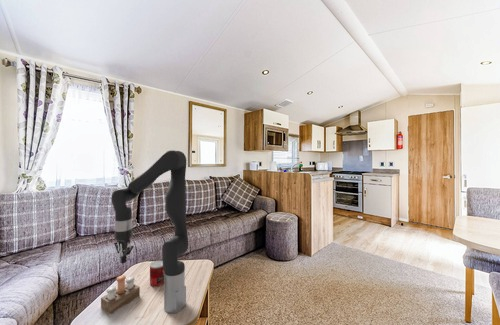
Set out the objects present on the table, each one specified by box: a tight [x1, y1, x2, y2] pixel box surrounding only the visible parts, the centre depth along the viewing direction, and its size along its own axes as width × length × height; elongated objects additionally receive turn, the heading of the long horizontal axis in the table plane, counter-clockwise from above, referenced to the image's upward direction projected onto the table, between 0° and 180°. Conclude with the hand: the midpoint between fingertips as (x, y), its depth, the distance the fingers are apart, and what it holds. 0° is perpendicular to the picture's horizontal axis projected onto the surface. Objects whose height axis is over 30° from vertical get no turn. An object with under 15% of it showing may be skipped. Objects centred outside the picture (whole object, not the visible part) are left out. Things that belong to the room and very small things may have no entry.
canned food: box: [149, 260, 164, 288], centre depth 116 cm, size 8×8×11 cm
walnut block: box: [100, 283, 141, 315], centre depth 101 cm, size 8×14×5 cm, turn 152°
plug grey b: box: [125, 276, 135, 290], centre depth 104 cm, size 4×4×9 cm
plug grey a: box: [106, 285, 117, 301], centre depth 97 cm, size 4×4×9 cm
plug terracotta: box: [116, 274, 127, 295], centre depth 100 cm, size 4×4×9 cm
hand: (123, 262), depth 101 cm, fingers closed
